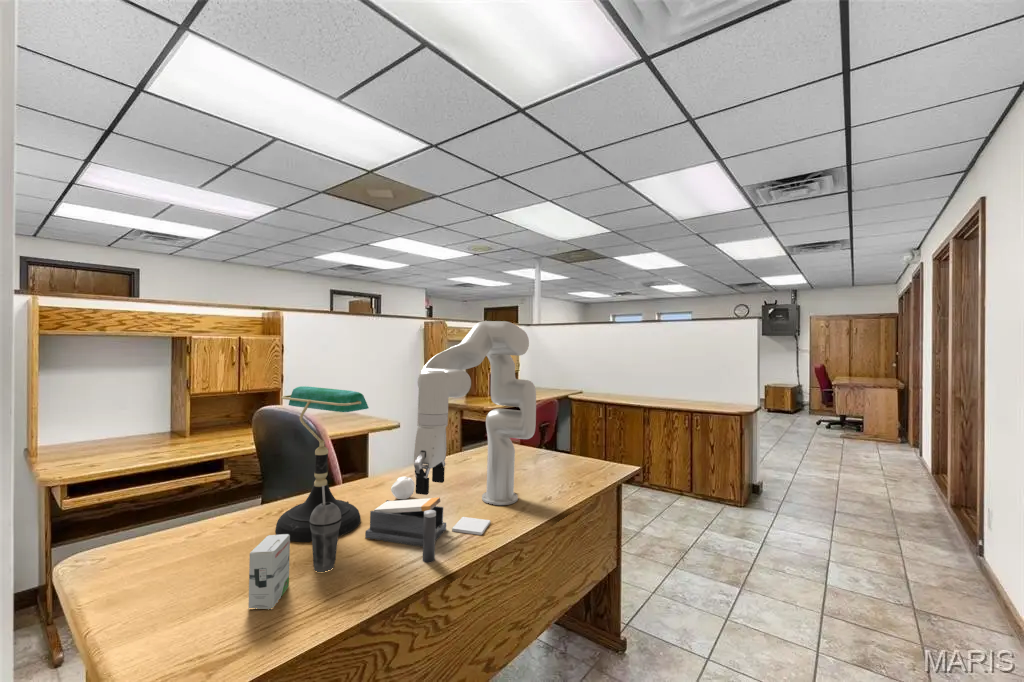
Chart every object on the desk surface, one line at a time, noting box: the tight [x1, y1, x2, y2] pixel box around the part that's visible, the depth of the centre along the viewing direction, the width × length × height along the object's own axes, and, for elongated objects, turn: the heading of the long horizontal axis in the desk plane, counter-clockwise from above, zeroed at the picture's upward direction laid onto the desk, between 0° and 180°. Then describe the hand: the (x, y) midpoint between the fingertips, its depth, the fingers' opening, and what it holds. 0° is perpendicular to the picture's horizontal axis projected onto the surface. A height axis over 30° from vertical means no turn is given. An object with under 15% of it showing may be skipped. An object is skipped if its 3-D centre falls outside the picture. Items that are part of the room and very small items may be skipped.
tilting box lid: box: [373, 497, 441, 513], centre depth 127 cm, size 17×7×1 cm, turn 77°
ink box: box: [248, 534, 291, 610], centre depth 94 cm, size 9×5×12 cm, turn 5°
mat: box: [451, 516, 491, 536], centre depth 133 cm, size 9×9×1 cm
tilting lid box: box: [364, 499, 447, 548], centre depth 127 cm, size 19×12×7 cm, turn 77°
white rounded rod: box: [422, 510, 436, 564], centre depth 113 cm, size 3×3×12 cm
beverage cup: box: [309, 486, 342, 573], centre depth 107 cm, size 7×7×20 cm
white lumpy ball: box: [390, 476, 416, 500], centre depth 155 cm, size 8×8×8 cm
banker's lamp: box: [274, 385, 369, 543], centre depth 132 cm, size 26×23×40 cm
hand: (430, 487), depth 113 cm, fingers open, 9 cm apart
